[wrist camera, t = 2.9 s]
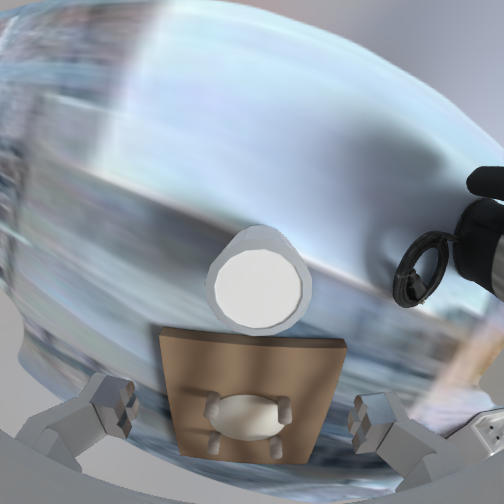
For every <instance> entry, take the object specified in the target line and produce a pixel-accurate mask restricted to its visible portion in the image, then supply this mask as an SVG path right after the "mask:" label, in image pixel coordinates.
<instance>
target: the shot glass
mask: <svg viewBox="0 0 504 504" xmlns="http://www.w3.org/2000/svg"><path fill="white" fill-rule="evenodd" d="M205 289H206V296H207V302H208V305H209V306H210V308H211V309H212V311H213V312H214V314H215V316H216V317H217V319H218V320H220V321H221V322H222V323H224V324H225V325H226V326H228V327H229V328H230V329H232V330H233V331H236V332H240V333H243V334H246V335H250V336H266V335H274V334H276V333H278V332H281V331H283V330H286V329H288V328H290V327H291V326H292V325H293V324H295V323H296V322H297V321H298V320H299V319H300V318H301V317H302V316H303V315H304V314H305V311H306V309H307V307H308V305H309V303H310V300H311V298H312V277H311V275H310V273H309V271H308V269H307V266H306V264H305V262H304V260H303V259H302V257H301V256H300V255H299V253H298V252H297V251H296V249H295V248H294V247H293V245H292V244H291V243H290V241H289V240H288V239H287V237H285V236H284V235H283V234H282V233H281V232H280V231H278V230H277V229H275V228H272V227H269V226H266V225H256V226H250V227H248V228H246V229H244V230H241V231H239V232H238V234H237V235H236V236H235V237H234V238H233V239H232V241H231V242H230V243H229V244H228V245H227V246H226V248H225V249H224V250H223V251H222V252H221V253H220V255H219V256H218V257H217V258H216V259H215V260H214V262H213V263H212V264H211V265H210V268H209V271H208V275H207V278H206V282H205Z"/></svg>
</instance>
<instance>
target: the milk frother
mask: <svg viewBox="0 0 504 504" xmlns="http://www.w3.org/2000/svg"><path fill="white" fill-rule="evenodd" d="M466 185H467V188H468V190H469V192H470V193H472V194H474V195H478V196H482V197H487V198H481V199H479V200H476V201H475V202H474V203H472V204H471V205H470V206H469V207H468V208H467V209H466V210H465V212H464V213H463V215H462V216H461V218H460V221H459V223H458V226H457V228H456V232H455V235H452V234H449V233H445V232H439V231H430V232H428V233H426V234H424V235H422V236H421V237H419V238H418V239H417V240H416V241H415V242H414V243H413V244H412V245H411V246H410V247H409V249H408V250H407V252H406V253H405V255H404V256H403V258H402V260H401V262H400V264H399V266H398V269H397V272H396V274H395V277H394V282H393V290H392V291H393V298H394V300H395V301H396V303H397V304H398V305H399V306H401V307H403V308H410V307H414V306H417V305H418V304H422V305H423V304H424V303H425V301H424V300H426V299H427V298H428V297H429V296H430V295H431V294H432V293H433V292H434V291H435V290H436V288H437V287H438V285H439V284H440V282H441V280H442V278H443V276H444V273H445V271H446V267H447V263H448V258H449V248H448V244H447V240H449V241H451V242H454V243H453V257H454V262H455V265H456V268H457V270H458V272H459V273H460V275H461V276H462V277H463V278H465V279H467V280H469V281H474V282H475V283H477V284H478V285H480V286H482V287H483V288H485V289H486V290H488V291H489V292H490V293H492V294H493V295H495V296H496V297H497V298H499V299H500V300H501V301H503V302H504V205H502V204H499V203H498V202H496V201H495V200H493V199H497V200H501V201H504V167H500V166H481V167H479V168H477V169H476V170H474V171H473V172H472V173H471V174H470V175H469V176H468V178H467V180H466ZM490 198H492V199H490ZM430 248H437V250H438V263H437V267H436V270H435V272H434V275H433V277H432V279H431V280H430V282H429V283H428V285H427V286H426V285H425V284H424V283H422V282H421V280H420V276H419V275H418V274H417V273H416V270H415V269H414V268H413V267H414V265H415V263H416V262H417V260H418V259H419V257H420V256H421V255H422V254H423V253H424V252H425V251H426V250H428V249H430Z"/></svg>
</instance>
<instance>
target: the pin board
mask: <svg viewBox="0 0 504 504" xmlns="http://www.w3.org/2000/svg"><path fill="white" fill-rule="evenodd" d="M159 340H160V348H161V356H162V363H163V369H164V376H165V382H166V388H167V394H168V399H169V405H170V410H171V415H172V420H173V425H174V430H175V434H176V439H177V443H178V447H179V452H180V455H182V456H188V457H194V458H201V459H208V460H217V461H226V462H237V463H252V464H307V462H308V460H309V457H310V455H311V453H312V450H313V448H314V445H315V443H316V440H317V438H318V435H319V433H320V430H321V428H322V425H323V422H324V420H325V417H326V414H327V411H328V409H329V406H330V403H331V400H332V397H333V394H334V391H335V388H336V385H337V382H338V379H339V376H340V373H341V369H342V366H343V363H344V359H345V356H346V352H347V349H348V348H347V345H346V343H345V341H344V339H303V338H279V337H261V336H247V335H234V334H222V333H212V332H202V331H193V330H185V329H177V328H169V327H163V329H162V331H161V333H160V334H159Z"/></svg>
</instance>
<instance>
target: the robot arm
mask: <svg viewBox="0 0 504 504" xmlns="http://www.w3.org/2000/svg"><path fill="white" fill-rule="evenodd" d="M134 389H135V387H134V383H133V382H132V381H129V380H125V379H121V378H117V377H113V376H110V375H105V374H101V373H98V372H97V373H95V374H94V375H93V376H92V378H91V379H90V380H89V382H88V383H87V385H86V386H85V388H84V389H83V391H82V392H81V394H80V395H79V397H78V398H72V399H70V400H68V401H66V402H64V403H61V404H59V405H57V406H55V407H52V408H50V409H48V410H46V411H44V412H41V413H39V414H36V415H34V416H32V417H29V419H28V420H27V421H26V423H25V424H24V425H23V427H22V428H21V430H20V431H19V433H18V434H17V435H16V437H15V438H13V437H11V436H10V435H8V434H7V433H5V432H4V431H2V430H1V429H0V504H194V503H188V502H182V501H176V500H171V499H166V498H162V497H157V496H153V495H149V494H145V493H141V492H137V491H134V490H130V489H126V488H124V487H120V486H117V485H114V484H111V483H108V482H105V481H102V480H100V479H97V478H94V477H92V476H89V475H86V474H84V473H81V472H82V468H81V466H80V464H79V463H78V462H77V461H76V459H75V457H76V456H78V455H79V454H81V453H82V452H84V451H85V450H87V449H88V448H90V447H91V446H92V445H94V444H95V443H97V442H98V441H99V440H101V439H102V438H104V437H105V436H106V434H107V435H111V436H115V437H119V438H123V439H127V437H128V435H129V432H130V430H131V428H132V426H131V423H130V422H131V421H132V420H134V419H135V418H136V416H137V414H138V408H139V402H138V397H137V396H136V395H135V394H134V393H133V391H134ZM354 405H355V407H353V408H352V409H351V410H350V412H349V415H348V429H349V432H350V433H351V434H352V435H354V438H353V440H352V444H353V447H354V451H355V454H361V453H369V452H376V453H377V454H378V455H379V456H380V457H381V458H382V459H383V460H384V461H385V462H387V463H388V464H389V465H390V466H391V467H392V468H393V469H394V470H395V471H396V472H397V473H399V474H400V475H401V476H402V477H403V478H404V480H403V481H402V482H401V483H400V484H399V485H398V487H397V488H396V489H395V491H396V493H393V494H390V495H386V496H381V497H377V498H372V499H368V500H362V501H357V502H352V503H345V504H504V408H503V409H498V410H493V411H488V412H482V413H480V414H478V415H477V416H476V417H475V418H474V419H472V420H471V421H470V422H469V423H468V424H467V425H466V426H464V427H463V428H461V429H460V430H458V431H457V432H455V433H454V434H453V435H451V436H450V437H449V438H447V439H444V438H443V437H441V436H439V435H438V434H436V433H434V432H433V431H431V430H429V429H428V428H426V427H425V426H423V425H421V424H420V423H418V422H417V421H415V420H413V419H411V420H410V419H409V417H408V415H407V413H406V411H405V409H404V407H403V405H402V403H401V401H400V399H399V397H398V396H397V394H396V392H395V391H389V392H382V393H372V394H363V395H357V396H356V397H355V400H354Z"/></svg>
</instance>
